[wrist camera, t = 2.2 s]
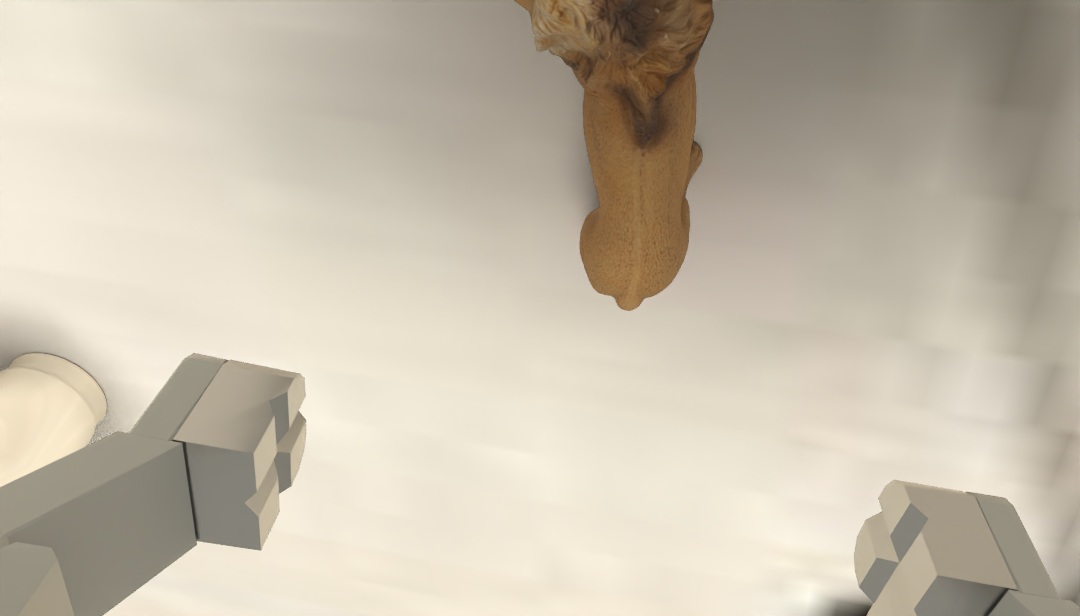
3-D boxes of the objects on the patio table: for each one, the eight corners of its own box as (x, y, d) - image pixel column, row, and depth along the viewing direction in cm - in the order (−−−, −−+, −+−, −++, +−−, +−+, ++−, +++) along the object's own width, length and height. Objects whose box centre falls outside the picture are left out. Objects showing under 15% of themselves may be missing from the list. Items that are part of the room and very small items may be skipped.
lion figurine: (491, -141, 23) (422, -87, 16) (679, -195, 22) (698, -164, 15) (599, 285, 31) (587, 454, 24) (742, 262, 30) (776, 433, 22)
